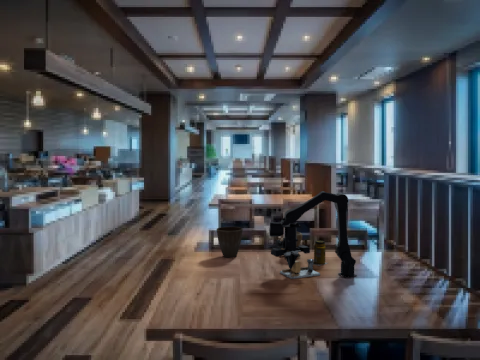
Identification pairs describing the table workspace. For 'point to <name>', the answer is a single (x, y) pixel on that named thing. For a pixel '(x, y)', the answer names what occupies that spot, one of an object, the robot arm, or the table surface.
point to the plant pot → (229, 240)
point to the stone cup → (299, 237)
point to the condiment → (319, 253)
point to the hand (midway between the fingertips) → (290, 268)
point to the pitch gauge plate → (301, 271)
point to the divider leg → (296, 267)
